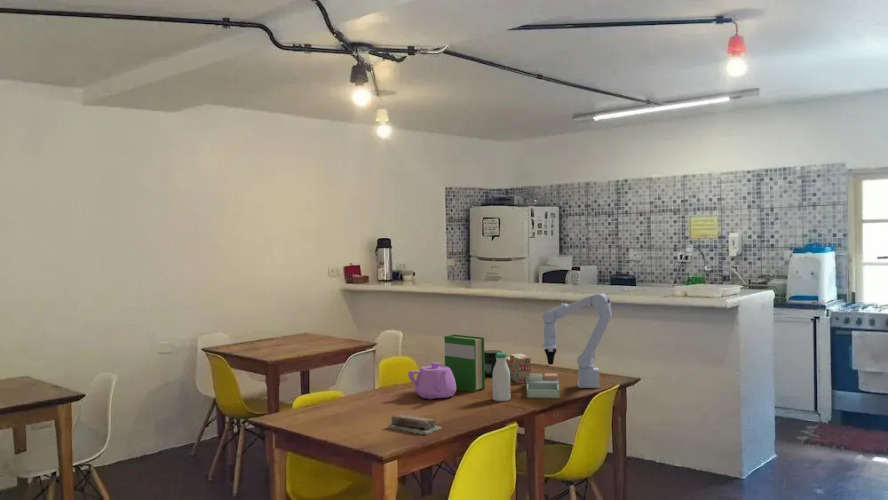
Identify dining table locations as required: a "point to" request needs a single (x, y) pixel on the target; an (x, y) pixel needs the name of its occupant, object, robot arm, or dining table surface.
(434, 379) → the teapot
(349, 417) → the dining table surface
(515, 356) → the printed cardboard box
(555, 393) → the tray
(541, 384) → the board
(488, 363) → the supplement container
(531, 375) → the cream tile
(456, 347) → the hardback book
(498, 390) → the milk bottle
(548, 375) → the terracotta tile
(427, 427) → the packaged product
